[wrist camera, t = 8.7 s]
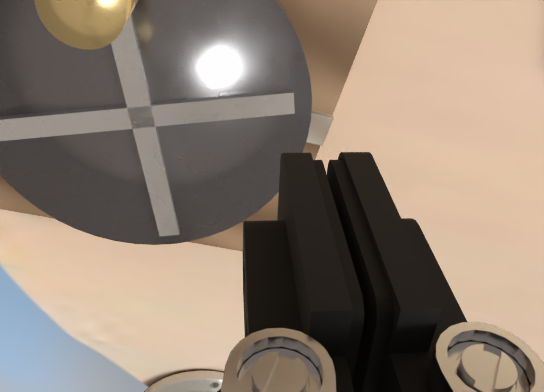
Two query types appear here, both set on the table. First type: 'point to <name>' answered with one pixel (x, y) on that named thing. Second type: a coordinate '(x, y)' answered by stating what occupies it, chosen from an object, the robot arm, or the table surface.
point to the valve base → (324, 85)
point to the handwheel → (150, 112)
